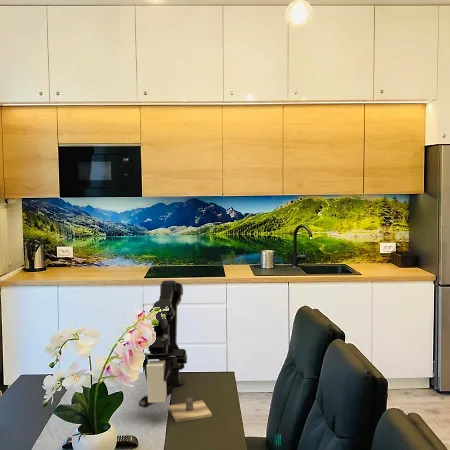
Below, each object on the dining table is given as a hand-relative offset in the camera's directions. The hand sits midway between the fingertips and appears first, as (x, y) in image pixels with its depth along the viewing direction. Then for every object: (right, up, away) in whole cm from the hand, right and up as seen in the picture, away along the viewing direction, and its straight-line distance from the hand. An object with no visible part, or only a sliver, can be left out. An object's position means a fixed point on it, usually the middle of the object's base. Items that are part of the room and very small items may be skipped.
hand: (155, 381), depth 175 cm
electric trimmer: (-2, -13, +20) cm, 24 cm away
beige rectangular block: (0, -6, +2) cm, 7 cm away
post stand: (+10, -13, +8) cm, 18 cm away
